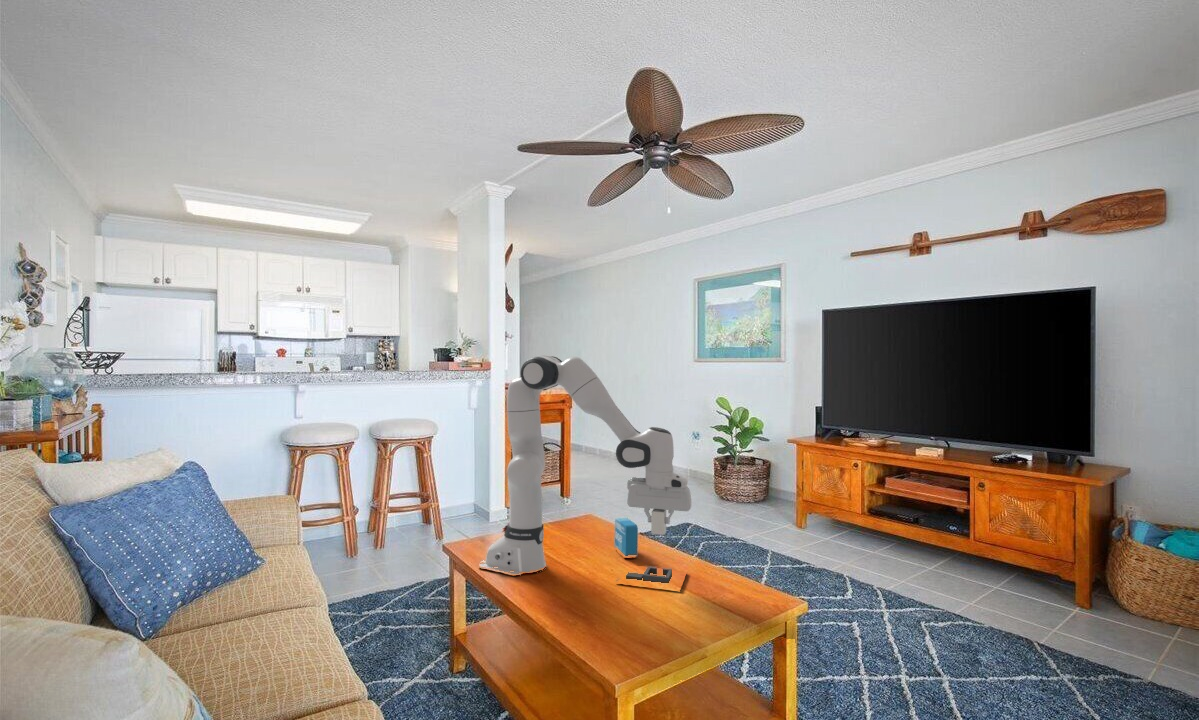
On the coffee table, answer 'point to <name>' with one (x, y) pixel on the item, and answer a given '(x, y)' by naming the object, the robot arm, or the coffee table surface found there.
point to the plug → (658, 522)
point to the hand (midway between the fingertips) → (658, 522)
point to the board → (652, 578)
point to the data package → (626, 536)
